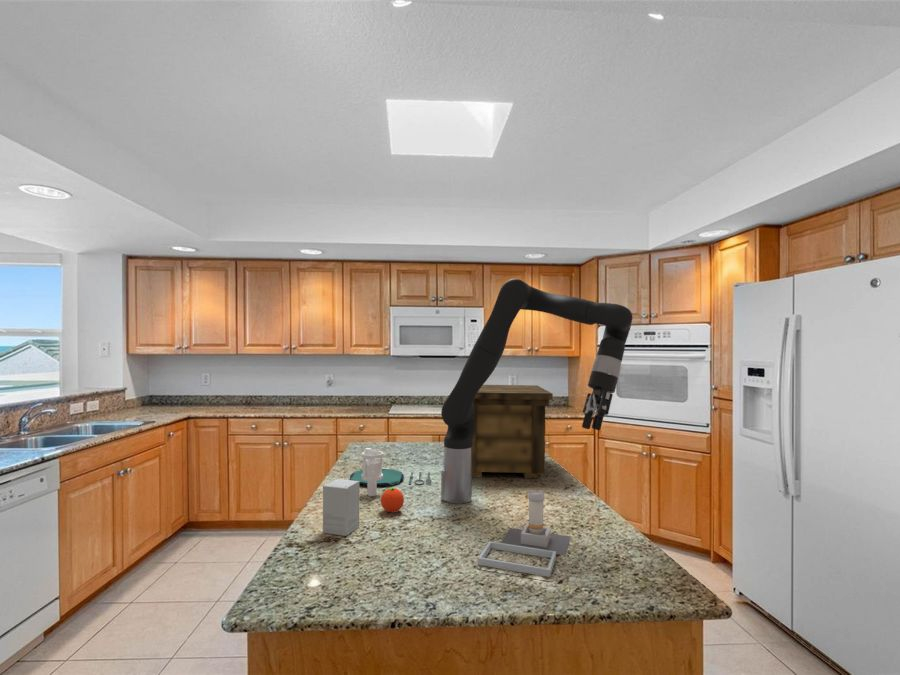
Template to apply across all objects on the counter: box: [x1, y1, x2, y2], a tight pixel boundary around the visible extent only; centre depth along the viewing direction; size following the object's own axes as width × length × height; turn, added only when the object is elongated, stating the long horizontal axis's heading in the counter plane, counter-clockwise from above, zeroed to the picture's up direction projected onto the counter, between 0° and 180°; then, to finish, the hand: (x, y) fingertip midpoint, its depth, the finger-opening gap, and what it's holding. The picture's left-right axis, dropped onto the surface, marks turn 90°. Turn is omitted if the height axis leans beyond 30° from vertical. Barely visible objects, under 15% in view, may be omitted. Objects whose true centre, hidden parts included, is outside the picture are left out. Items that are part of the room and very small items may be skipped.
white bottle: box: [527, 490, 545, 535], centre depth 122 cm, size 4×4×12 cm
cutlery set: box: [349, 468, 432, 486], centre depth 179 cm, size 20×30×2 cm, turn 91°
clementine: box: [380, 487, 405, 513], centre depth 146 cm, size 8×7×7 cm
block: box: [500, 524, 572, 556], centre depth 122 cm, size 16×12×4 cm
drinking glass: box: [361, 447, 384, 497], centre depth 162 cm, size 7×7×15 cm
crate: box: [472, 384, 554, 479], centre depth 197 cm, size 35×35×33 cm
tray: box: [477, 541, 557, 583], centre depth 111 cm, size 16×10×3 cm, turn 70°
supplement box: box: [322, 478, 360, 537], centre depth 131 cm, size 7×7×13 cm
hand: (590, 428), depth 136 cm, fingers open, 8 cm apart
